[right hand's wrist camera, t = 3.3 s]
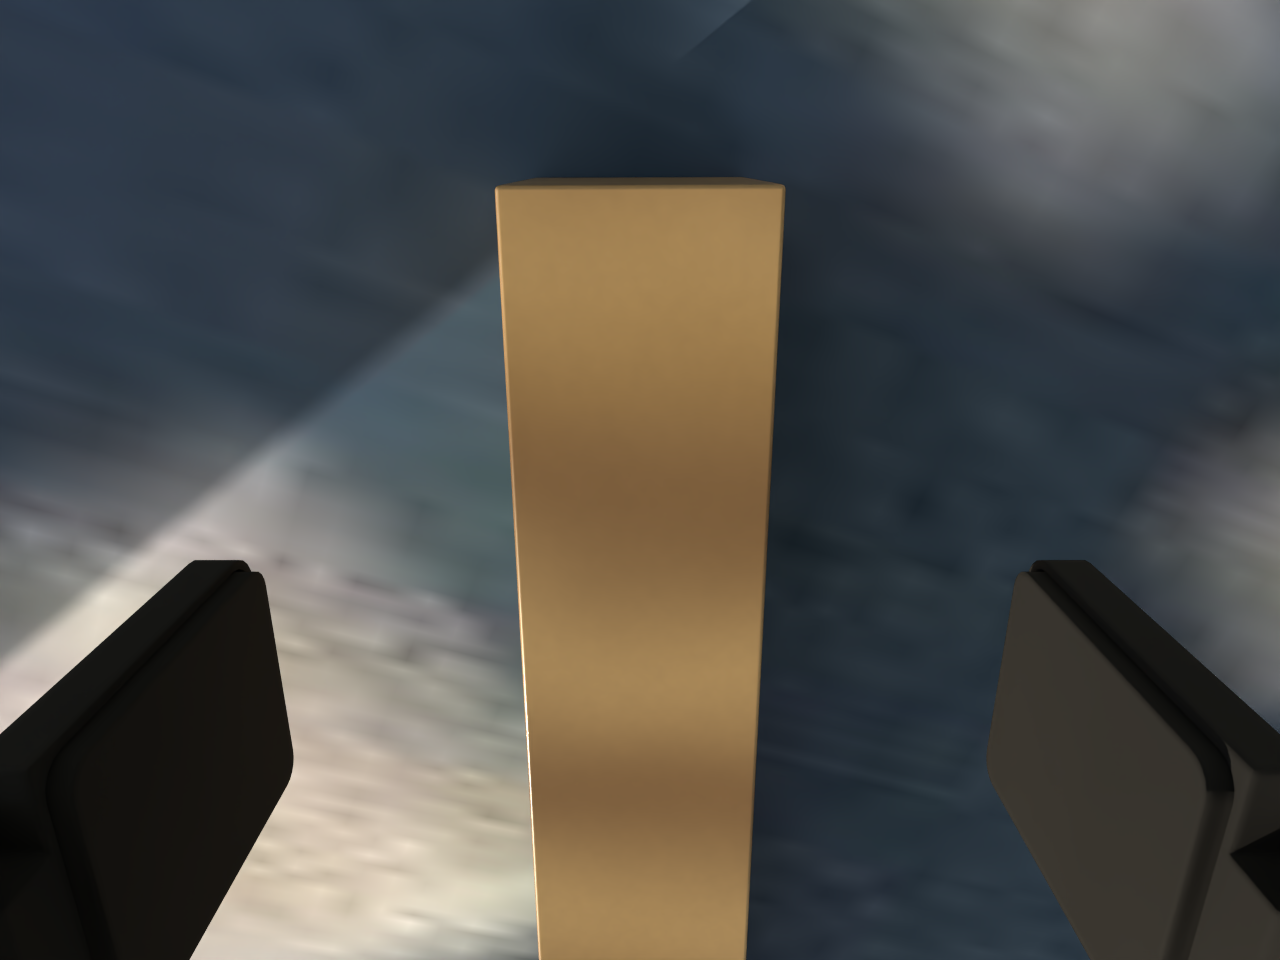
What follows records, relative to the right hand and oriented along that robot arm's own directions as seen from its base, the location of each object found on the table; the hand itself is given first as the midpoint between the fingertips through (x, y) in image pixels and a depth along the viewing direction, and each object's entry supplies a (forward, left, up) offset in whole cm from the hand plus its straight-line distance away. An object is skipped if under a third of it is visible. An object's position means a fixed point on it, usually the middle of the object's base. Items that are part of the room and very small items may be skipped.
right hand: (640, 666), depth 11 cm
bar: (+30, -6, -13) cm, 33 cm away
